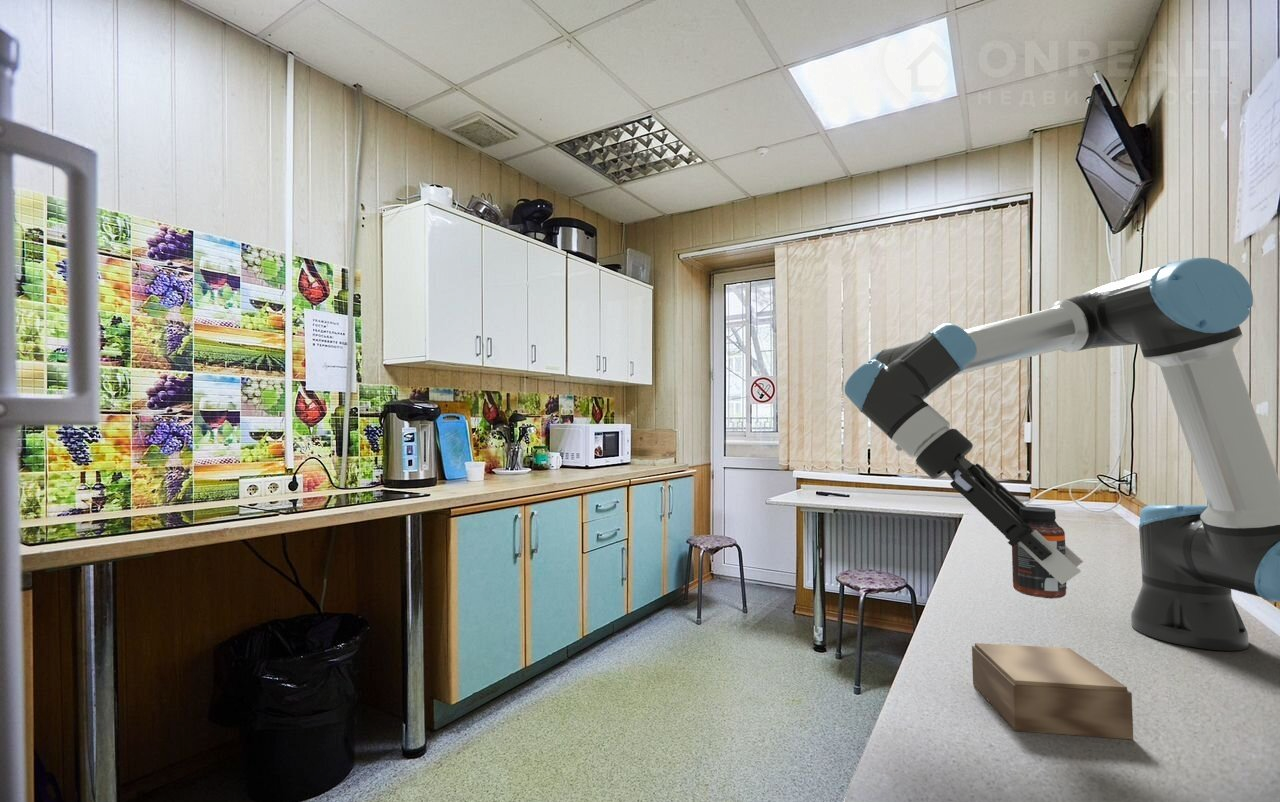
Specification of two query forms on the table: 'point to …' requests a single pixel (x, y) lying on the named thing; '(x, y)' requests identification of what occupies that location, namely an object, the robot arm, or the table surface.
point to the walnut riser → (1052, 691)
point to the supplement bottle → (1025, 567)
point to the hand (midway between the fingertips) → (1072, 572)
